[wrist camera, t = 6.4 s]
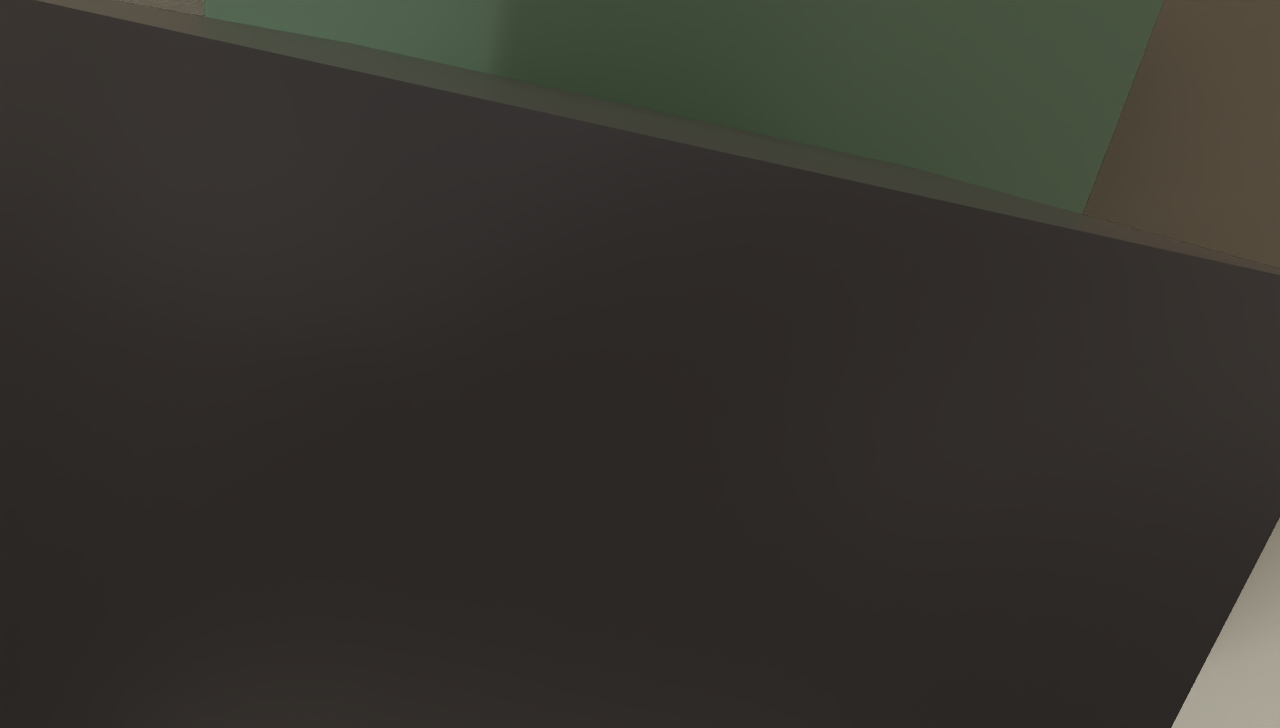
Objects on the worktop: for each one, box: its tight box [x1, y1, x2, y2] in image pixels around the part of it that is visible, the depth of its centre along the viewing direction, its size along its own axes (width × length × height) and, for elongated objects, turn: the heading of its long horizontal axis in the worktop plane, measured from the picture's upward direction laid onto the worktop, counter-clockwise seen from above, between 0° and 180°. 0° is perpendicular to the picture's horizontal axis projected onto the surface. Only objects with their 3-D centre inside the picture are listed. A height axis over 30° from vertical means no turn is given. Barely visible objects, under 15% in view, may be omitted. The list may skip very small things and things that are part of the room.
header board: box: [204, 0, 1164, 214], centre depth 9 cm, size 9×14×4 cm, turn 168°
